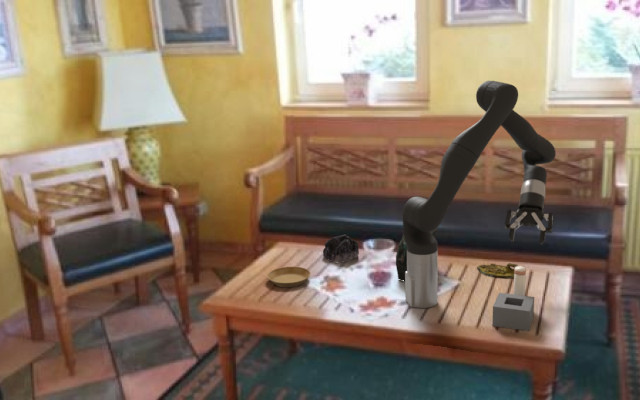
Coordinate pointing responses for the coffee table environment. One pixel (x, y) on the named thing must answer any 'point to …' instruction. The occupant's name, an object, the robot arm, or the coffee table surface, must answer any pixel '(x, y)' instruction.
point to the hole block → (513, 311)
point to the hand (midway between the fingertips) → (526, 242)
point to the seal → (497, 270)
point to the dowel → (519, 280)
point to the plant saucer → (289, 276)
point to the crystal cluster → (341, 249)
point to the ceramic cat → (405, 257)
